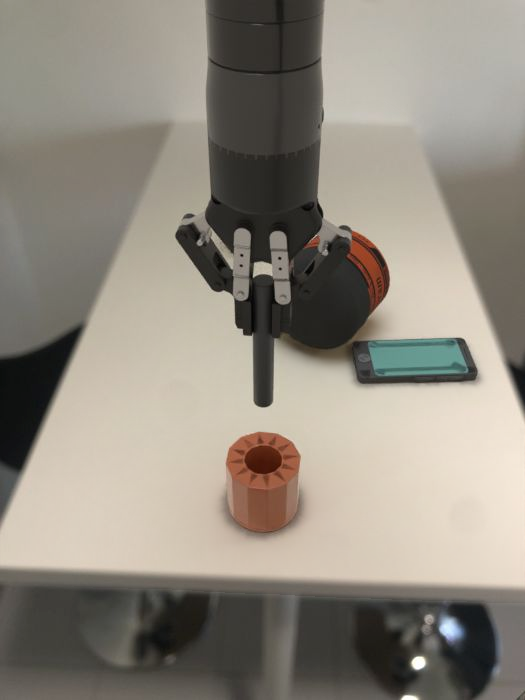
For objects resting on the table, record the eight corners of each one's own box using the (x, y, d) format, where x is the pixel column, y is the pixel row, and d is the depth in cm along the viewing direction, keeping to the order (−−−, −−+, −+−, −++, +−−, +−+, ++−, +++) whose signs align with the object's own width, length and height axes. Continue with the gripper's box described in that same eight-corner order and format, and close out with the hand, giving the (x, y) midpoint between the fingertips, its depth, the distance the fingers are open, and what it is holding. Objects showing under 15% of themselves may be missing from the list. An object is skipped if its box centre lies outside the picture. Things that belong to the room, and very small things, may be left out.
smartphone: (351, 339, 89) (464, 336, 90) (350, 346, 90) (462, 343, 91) (359, 377, 84) (480, 373, 84) (359, 385, 85) (478, 381, 85)
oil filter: (385, 324, 94) (397, 243, 85) (343, 374, 86) (352, 290, 78) (304, 293, 99) (308, 215, 91) (258, 338, 91) (257, 256, 83)
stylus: (271, 412, 61) (273, 287, 52) (252, 410, 61) (250, 285, 52) (274, 398, 62) (276, 274, 53) (255, 396, 62) (253, 272, 53)
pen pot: (293, 536, 68) (296, 492, 63) (222, 527, 68) (220, 484, 64) (300, 479, 73) (303, 435, 69) (235, 472, 74) (233, 428, 69)
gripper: (147, 143, 42) (171, 352, 54) (368, 157, 41) (344, 369, 52) (175, 99, 48) (192, 297, 59) (370, 110, 47) (349, 311, 58)
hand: (263, 330), depth 56 cm, fingers closed on stylus, 2 cm apart
